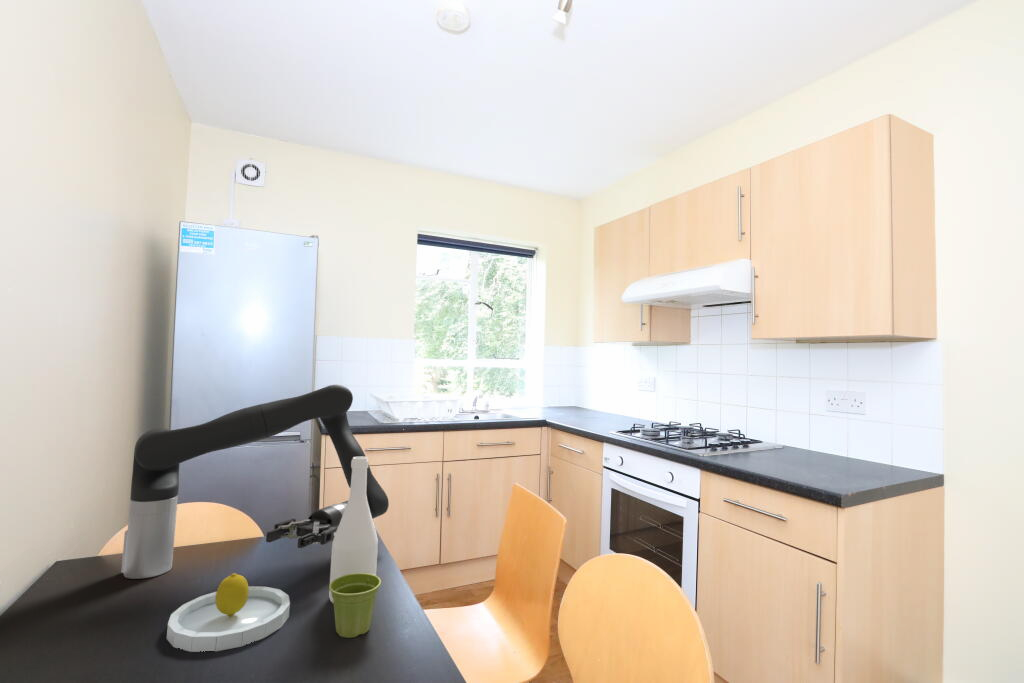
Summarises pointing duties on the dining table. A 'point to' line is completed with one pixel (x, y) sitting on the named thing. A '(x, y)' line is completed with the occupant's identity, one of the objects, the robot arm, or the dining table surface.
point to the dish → (227, 621)
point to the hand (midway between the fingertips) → (283, 540)
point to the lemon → (232, 594)
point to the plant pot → (354, 602)
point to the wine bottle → (355, 530)
